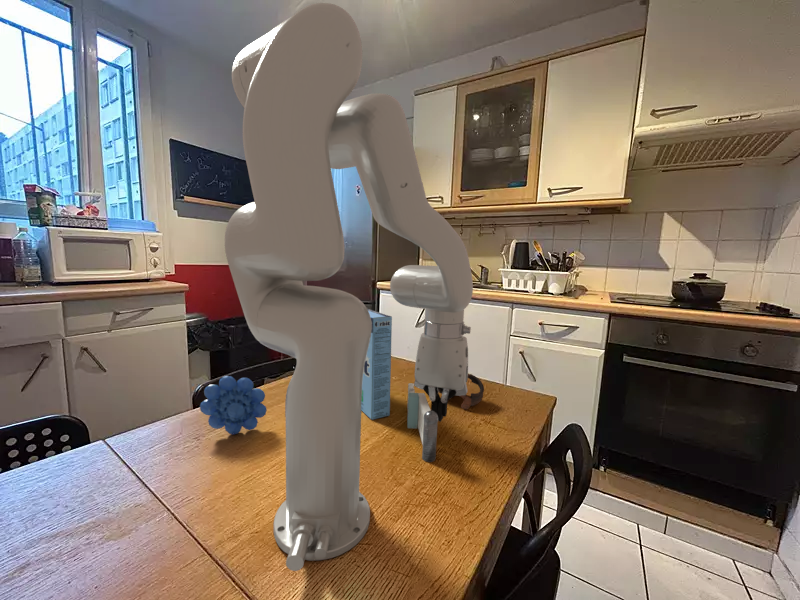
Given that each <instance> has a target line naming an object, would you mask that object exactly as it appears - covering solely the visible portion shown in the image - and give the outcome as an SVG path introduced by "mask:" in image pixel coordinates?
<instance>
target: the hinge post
mask: <svg viewBox="0 0 800 600" xmlns="http://www.w3.org/2000/svg"><path fill="white" fill-rule="evenodd" d="M438 422H439V421H438V415H437V413H436V412H434V411H427V412H426V413H425V414H424V430H423V445H422V450H421V451H422V454H421V456H422V457H421V459H422V461H424V462H427V463H433V462H435V461H436V456H437V455H436V454H437V438H438V437H437V435H438Z"/></svg>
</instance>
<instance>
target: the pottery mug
mask: <svg viewBox="0 0 800 600" xmlns="http://www.w3.org/2000/svg"><path fill="white" fill-rule="evenodd" d="M468 379H469V380H470V381H471V383H473V384H475V385H476V386H477V385H478V389H479V392H477V393H476V392H475V393H473V392H472V393H470V396H469V395H467V394H466V395H461V396H459V397H460V398H462V399H463V402H462V403H461V405H460V407H461V408H462V409H464V410H468V409H469V408H470V407H474V406H476V405H478V404H479V403H480V402H481V401H482V400H483V398H484V392H485V387H484V386H485V385H484V384H483V383H482V380H481V379H480V378H479V377H477V376H476V375H473V374H472V373H468ZM438 393H439V394H441V395H442V393H443V388H439V387H438Z"/></svg>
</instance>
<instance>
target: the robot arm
mask: <svg viewBox="0 0 800 600" xmlns="http://www.w3.org/2000/svg"><path fill="white" fill-rule="evenodd" d="M361 38H362V37H361V34H360V31H359V29H358V26H357V24H356V22H355V20H354V19H353V17H352V16H351V15H350V13H348V11H347V10H345V9H344V8H343V7H341V6H339V5H336V4H334V3H330V2H328V3H327V2H316V3H311V4H309V5H307V6H304V7H303V8H301V9H300V10H298V11H296V13H294V14H293V15H292V16H290V17H288V18H286V19H285V20H284V21H282V22H281V23H279V24H278V25H276V26H275V27H273V28H272V29H271V30H269V31H268V32H267V33H265V34H263V35H262V36H260V37H259V38H257V39H256V40H254V41H252V42H251V43H250V44H248V45H246V46H245V47H244V48H243V49H241V50H240V52H239V53H238V54H237V55H236V57H235V59H234V61H233V64H232V70H231V83H232V86H233V90H234V93H235V95H236V97H237V100H238V101H239V103H240V104H241V106H242V108H244V109H243V117H242V144H243V153H244V157H245V162H246V166H247V171H248V177H249V182H250V186H251V187H250V188H251V192H252V195H253V196H252V197H253V199H254V201H252V202H249V203H247V204H245V205H243V206H241V207H239V208H238V209H237V210H235V212H234V213H233V214H232V215H231V217H230V218H229V220H228V222H227V225H226V228H225V232H224V251H225V257H226V260H227V263H228V264H227V265H228V268H229V271H230V273H231V278H232V281H233V283H234V287H235V290H236V293H237V297H238V300H239V303H240V305H241V309H242V313H243V315H244V318H245V321H246V324H247V326H248V329H249V330H250V332H251V334H252V335H253V337H254V339H255V340H256V341H258V342H259V343H260V344H261V345H263V346H265V347H267V348H268V349H271V350H273V351H275V352H278V353H282V354H285V355H288V356H290V357H291V358H294V359H296V365H295V369H294V372H293V374H292V376H291V379H290V381H289V383H288V385H287V389H286V394H285V401H284V402H285V405H284V407H285V408H284V410H285V411H284V412H285V413H284V415H285V416H284V417H285V500H284V501H283V502H282V503H281V505H280V506H279V507H278V508H277V511H276V513H275V515H274V519H273V536H274V540H275V542H276V543H277V546H278V547H279V548H280V549H281V550H282V551H283V552H284V553H286V554H287V557H286V560H285V565H286V567H287V569H289V570H290V571H293V572H298V571H300V570H301V569H303V567H304V564H305V560H306V561H323V560H329V559H332V558H335V557H338V556H341V555H343V554H344V553H346V552H348V551H350V550H351V549H352V548H355V546H356V545H358V543H359V542H360V541H361V540H362V539H363V538H364V536H365V535H366V533H367V532H368V529H369V526H370V520H371V519H370V518H371V508H370V504H369V502H368V500H367V499H366V497H365V495H364V494H363V493H361V492H360V476H361V475H360V473H361V472H360V470H361V469H360V468H361V463H360V462H361V435H362V433H361V432H362V430H361V429H362V410H361V397H362V380H363V371H364V365H365V360H366V355H367V351H368V347H369V343H370V338H371V330H372V323H371V317H370V314H369V312H368V310H367V309H368V307H367V306H366V305H365V304H364V302H363V301H362V300H360V299H359V298H358V297H357V296H355V295H353V294H352V293H349V292H347V291H344V290H341V289H338V288H330V287H324V286H318V285H317V286H315V285H304V281H305V282H312V281H313V282H317V281H323V280H325V279H328V278H330V277H332V276H334V275H335V274H336V273H337V272H338V271H340V269H341V267H342V265H343V263H344V259H345V239H344V232H343V227H342V222H341V216H340V210H339V205H338V202H337V201H338V200H337V195H336V189H335V184H334V183H335V182H334V180H333V179H334V178H333V173H332V169H334V170H343V169H348V168H354V167H355V169H356V170H357V173H358V176H359V180H360V182H361V185H362V187H363V188H362V189H363V190H364V194H365V196H366V199H367V203H368V204H369V208H370V210H371V213H372V217H373V219H374V221H375V222H376V223H377V224H378V225H380V226H381V227H383V228H384V229H386V230H388V231H389V232H392V233H394V234H396V235H397V236H399V237H401V238H404V239H406V240H408V241H410V242H412V243H413V244H414V245H416V246H417V247H418V248H421V249H422V250H423V251H424V252H426V254H428V256H429V257H430V258H431V259H432V260H433V262H434V263H435V265H428V264H427V265H421V264H409V265H404V266H402V267H400V268H398V269H397V270H396V271H395V272H394V273H393V275H392V277H391V279H390V283H389V288H390V289H389V290H390V294H391V296H392V297H393V299H394V300H395V301H396V302H397V303H399V304H400V305H402V306H405V307H408V308H409V307H410V308H416V309H422V310H424V311H425V312H424V324H423V326H424V328H423V333H421V334H420V336H419V337H420V338H419V341H418V345H417V350H416V356H415V358H416V359H415V363H414V364H415V366H414V382H413V384H414V387H415V388H418V389H420V390H423V391H424V393H425V394H426V395H427V396H428V399H429V400H430V401H431V403H430V410H431V411H434V412H436V413H437V415H438V422H439V423H442V421H443V419H444V417H445V418H446V417H447V413H448V401H450V400H451V399H452V398H453V397H455V396H459V397H460V396H461V395H467V393H468V386H467V383H468V379H469V378H468V374H469V348H468V339H467V337H466V336H464V335H467V334H468V335H469V334H471V330H472V329H471V328H472V327H471V326H468V325H466V324H465V321H464V318H465V316H464V315H465V309H466V308H467V307H468V306H469V304H470V303H471V301H472V297H473V292H474V283H473V276H472V269H471V265H470V263H471V262H470V260H469V259H470V258H469V255H468V250H467V248H466V246H465V243H464V241H463V240H462V238H461V237H460V235H459V234H458V232H457V231H456V230H455V229H454V228H453V227H452V225H451V224H450V222H448V220H446V219H445V217H444V216H442V214H440V213H439V212H438V211H437V210H436V209H435V208H434V207H433V206H432V205H431V204H430V203H429V201H428V199H427V195H426V192H425V188H424V183H423V179H422V177H421V173H420V172H421V171H420V169H419V163H418V160H417V155H416V152H415V148H414V143H413V141H412V136H411V132H410V129H409V125H408V121H407V116H406V114H405V111H404V108H403V107H402V104H401V103H400V102H399V100H398V99H396V98H395V97H394V96H392V95H389V94H387V93H379V92H378V93H375V92H374V93H369V94H368V93H367V94H365V95H361V96H356V97H354V98H351V99H348V100H346V99H347V98H348V97H349V96H350V95H351V94H352V92H353V90H354V89H355V87H356V85H357V83H358V81H359V79H360V75H361V73H362V72H361V71H362V65H363V45H362V39H361ZM438 387H439V388H443V393H442V394H441V396H440V393H439V392H438Z"/></svg>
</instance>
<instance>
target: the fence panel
mask: <svg viewBox="0 0 800 600" xmlns="http://www.w3.org/2000/svg"><path fill="white" fill-rule="evenodd" d="M407 385H408V387H407V396H408V395H409V393H416V391H415V388H414V387H415V386H414V382H413V383H410V382H409V383H408V384H407ZM406 409H407V410H408V403H407V408H406Z"/></svg>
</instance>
